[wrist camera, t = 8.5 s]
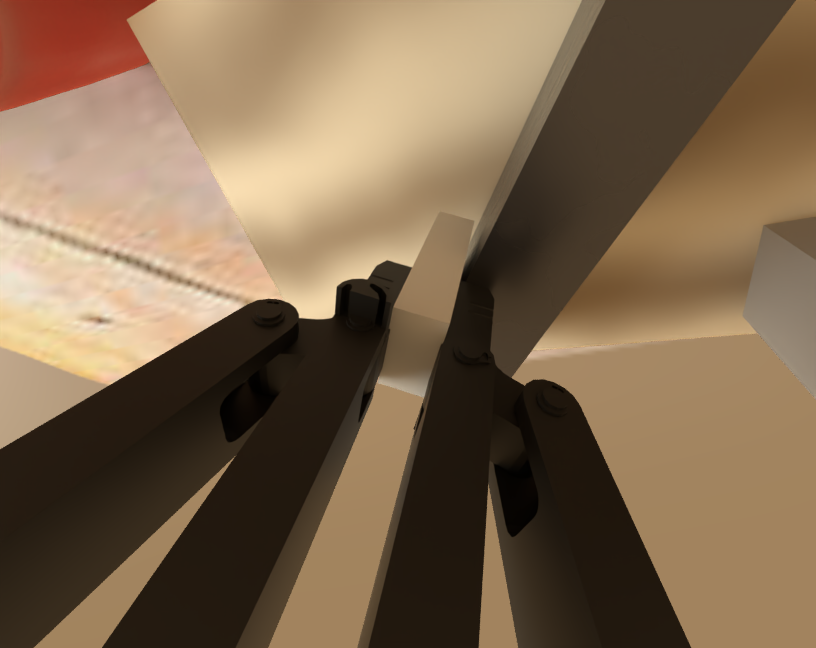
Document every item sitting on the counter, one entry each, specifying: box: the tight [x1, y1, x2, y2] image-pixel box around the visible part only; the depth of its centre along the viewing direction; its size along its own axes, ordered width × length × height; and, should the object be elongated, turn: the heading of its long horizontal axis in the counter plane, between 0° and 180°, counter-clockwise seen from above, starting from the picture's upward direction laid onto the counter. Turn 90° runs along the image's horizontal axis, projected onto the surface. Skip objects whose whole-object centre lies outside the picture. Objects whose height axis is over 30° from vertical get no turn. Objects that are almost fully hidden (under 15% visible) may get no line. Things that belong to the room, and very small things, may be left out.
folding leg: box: [461, 0, 796, 378], centre depth 10 cm, size 18×4×5 cm, turn 162°
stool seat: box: [127, 0, 816, 351], centre depth 17 cm, size 18×23×6 cm
